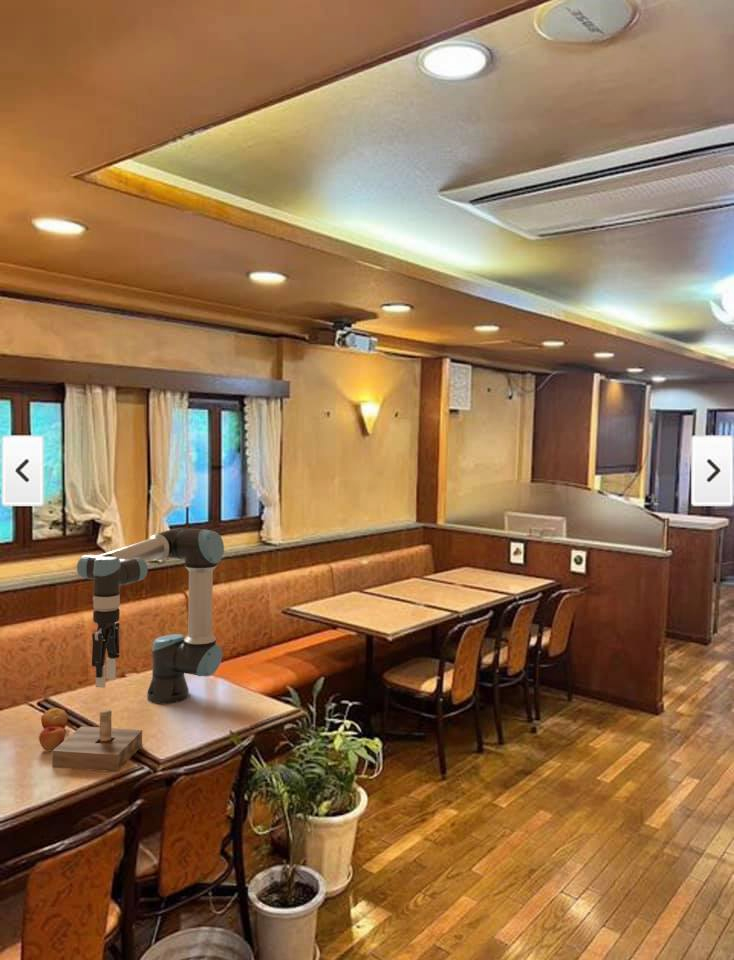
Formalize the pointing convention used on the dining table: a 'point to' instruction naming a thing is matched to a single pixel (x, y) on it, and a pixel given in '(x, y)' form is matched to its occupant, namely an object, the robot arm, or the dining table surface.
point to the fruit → (54, 718)
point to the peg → (105, 726)
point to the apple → (51, 737)
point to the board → (97, 749)
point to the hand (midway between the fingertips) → (105, 682)
